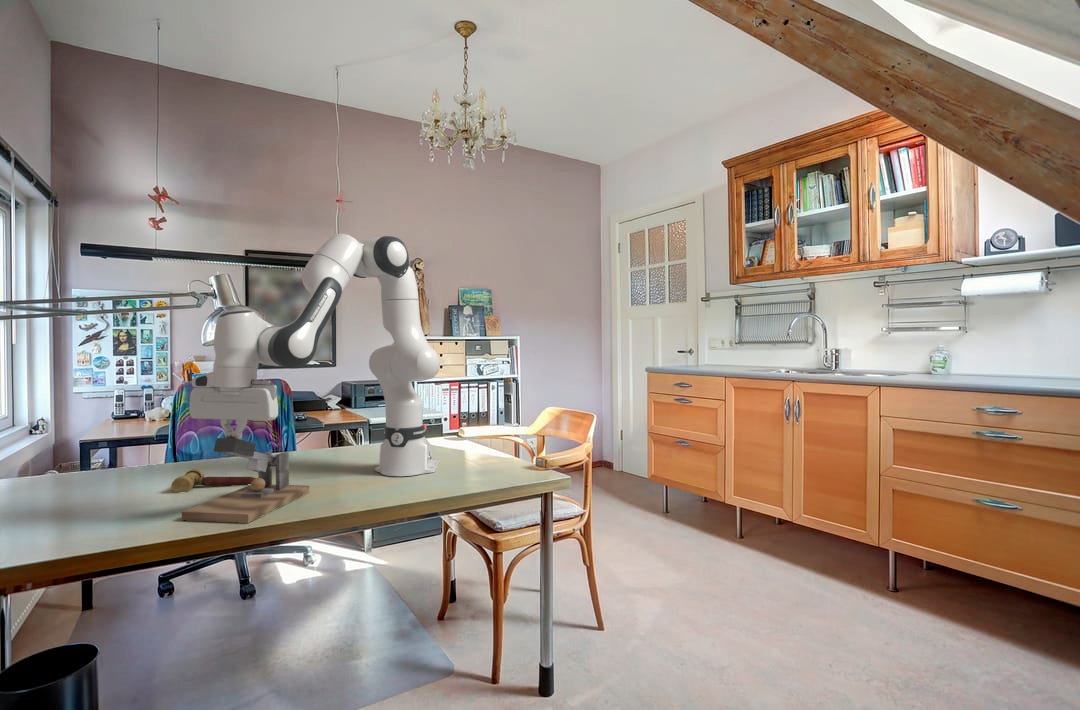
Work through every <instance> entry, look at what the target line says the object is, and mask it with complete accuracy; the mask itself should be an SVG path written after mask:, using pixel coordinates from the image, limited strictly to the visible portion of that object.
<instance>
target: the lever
mask: <svg viewBox="0 0 1080 710" xmlns="http://www.w3.org/2000/svg"><path fill="white" fill-rule="evenodd" d="M256 444H257V443H253V442H249V441H248V440H247V441H246V440H243V439H237V438H225V437H216V440H215V443H214V447H213V452H215V453H218V454H223V455H226V456H231V457H239V458H244V459H248V463H247V464H248V465H247V467H246V468H247V469H246V470H248V471H252V472H257V473H258V472H266V469H267V466H272V467H274V468H276V455H277V454H275V455H266V454H263V453H264V452H260V451H259V452H258V451H256Z"/></svg>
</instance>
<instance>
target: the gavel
mask: <svg viewBox="0 0 1080 710" xmlns="http://www.w3.org/2000/svg"><path fill="white" fill-rule="evenodd" d="M254 479H256V477H254V476H205V474H204V472H203V471H202V470H201V469H197V468H193V469H190V470H188V471H186V473H185V474H183V475H181V476H180V475H179V476H178V477H176V478H175V479H174V480H173V481H172V482H171V487H170V488H171V491H173V493H175V494H181V493H180V492H187V493H188V492H190V491H191V490H192V489H193V488H194V487H196V486H205V487H206V486H207V487H231V486H230V485H242V486H249V485H248V484H251V482H252V481H253V480H254Z"/></svg>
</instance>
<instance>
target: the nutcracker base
mask: <svg viewBox="0 0 1080 710" xmlns="http://www.w3.org/2000/svg"><path fill="white" fill-rule="evenodd" d="M262 453H263V454H266V455H272V454H273V453H272V451H266V452H262ZM275 455H276V467H275V484H273V466H267V469H266V472H257V473H258V474H257V475H258V477H257V478H256V477H255V478H256V479H254V480H253V481H252V482H251V485H246V486H244V487H242V488H239V489H236V490H234V491H231V492H229V493H226V494H224V495H221V496H219V497H216V498H213V499H211V500H208V501H206V502H202V503H201V504H198V505H195V506H193V507H190V508H188V509H185V510H182V511H181V521H182V520H186V521H185V522H201V521H214V522H213V523H225V522H238V523H237V524H250V523H252V522H254V521H256V520H257V519H256V518H258V517H260V516H262V515H264V516H266V515H267V514H266V513H268V512H270V511H272V512H274V511H275V510H274V509H276V508H278V507H281V506H283V505H285V504H287V503H289V502H291V501H293V500H295V499H297V498H299V497H301V496H303V495H305V496H307V495H308V493H309V494H310V485H303V484H302V485H299V484H290V474H289V473H290V465H289V463H290V462H289V461H290V459H289V457H290V453H289V451H283V452H281V453H277V454H275ZM306 494H307V495H306ZM303 497H304V496H303ZM301 498H302V497H301ZM299 499H300V498H299ZM297 500H298V499H297ZM295 501H296V500H295ZM293 502H294V501H293ZM291 503H292V502H291ZM289 504H290V503H289ZM287 505H288V504H287ZM285 506H286V505H285ZM283 507H284V506H283ZM281 508H282V507H281ZM278 509H279V508H278ZM273 510H274V511H273ZM276 510H277V509H276ZM270 513H271V512H270ZM265 514H266V515H265ZM268 514H269V513H268ZM262 517H263V516H262ZM260 518H261V517H260ZM255 519H256V520H255ZM258 519H259V518H258ZM253 520H254V521H253ZM215 521H216V522H215ZM251 521H252V522H251ZM249 522H250V523H249Z"/></svg>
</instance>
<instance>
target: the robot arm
mask: <svg viewBox="0 0 1080 710" xmlns="http://www.w3.org/2000/svg"><path fill="white" fill-rule="evenodd" d="M353 277H355V278H359V279H367V278H377V280H378V282H379V284H380V298H381V299H380V300H381V315H382V325H383V328H384V329H385V330H386V331H387V332H388V333H389V334H390V335H391V337H392V339H393V342H394V345H385V346H382V347H379V348H377V349H375V350H373V352H371V354H370V356H369V360H368V366H369V367H368V368H369V369H370V372H371V373H372V375H374V376H375V378H376V379H377V381H378V382H379V385H380V388H381V392H382V394H383V398H384V405H385V407H384V408H385V426H384V429H383V435H384V436H383V438H384V441H383V442H382V443H381V444H380V450H379V463H378V464H379V465H378V466H376V467H375V470H374V471H375V472H378V473H380V474H381V475H384V476H387V477H410V476H417V475H423V474H430V473H435V471H436V470H437V467H438V466H439V465H440V459H437V458H434V457H433V446H432V444H431V443H430V441H428V439H427V438H426V437H425V436H426V431H427V429H428V428H427V424H426V423H424V424H423V420H424V417H423V415H424V413H423V411H424V409H423V407H424V406H423V405H424V404H423V399H422V398H421V396H420V395H419V394H418V393H417V392H416V391H415V389H414V386H413V383H412V382H422V381H423V382H424V381H427V380H432V379H433V378H435V377H436V376H437V375H438V372H439V370H440V368H441V361H440V360H441V359H440V355H439V354H438V352H437V350H435V349H434V348H433V347H432V346H431V345H430V343H429V341H428V340H427V338H426V336H425V334H424V331H423V328H422V324H421V323H422V322H421V314H420V302H419V301H420V300H419V291H418V283H417V280H416V279H417V278H416V275H415V271H414V270H413V268H412V267H411V266H410V257H409V251H408V249H407V246H406V245H405V243H404V242H403V240H402V239H400V238H399V237H396V236H391V235H386V236H385V235H384V236H380V237H379V236H378V237H370V238H367V239H364V240H362V241H359V240H357V239H356V238H355V237H353V236H352V235H349V234H346V233H336V234H334V235H333V236H332V237H330V238H329V239H328V240H327V241H326V242H324V243H323V244H322V245H321V246H320V247H319V248H318V250H316V252H315V253H314V254H313V255H312V257H311V258H310V259H309V261H308V262H307V263H306V265H305V267H304V269H303V271H302V272H301V280H302V281H301V282H302V285H303V287H304V288H305V290H306V291H307V292H308V293H309V294H310V295H309V298H308V299H307V301H306V303H305V304H304V306H303V308H302V310H301V311H300V312H299V314H298V316H297V317H296V319H295V320H293V321H292V322H290V323H289V324H286V325H283V326H276V325H275V324H272V323H270V322H268V321H266V320H264V319H263V318H261V317H260V316H258V315H257V313H256V312H255V311H253V310H247V309H246V310H236V311H235V310H234V311H226V312H223V313H222V314H220V315H219V316H218V317H217V319H216V324H215V329H214V336H213V337H214V339H213V350H214V353H215V358H214V362H213V365H212V366H213V368H212V369H213V370H212V371H210V372H207V373H205V374H201V375H198V376H194V377H193V378H191V386H192V387H194V388H193V389H192V390H191V392H190V395H189V406H188V408H189V409H188V412H189V413H188V414H189V415H190V416H191V419H201V420H203V419H204V420H205V419H206V420H220V426H221V428H222V430H223V431H224V438H237V439H240V440H242V438H243V431H244V430H245V428H246V426H247V425H248V421H256V422H257V421H260V422H265V421H267V422H269V421H275V420H276V419H277V418H278V416H279V405H278V387H277V385H276V384H275V383H274V382H272V380H266V379H265V380H260V379H257V377H258V375H257V374H258V373H257V372H258V364H262V365H265V366H271V367H272V366H273V367H282V368H283V367H284V368H287V369H299V368H303V367H305V366H306V365H308V364H309V363H310V362H311V361H312V360H313V359H314V356H315V354H316V352H317V348H318V347H317V346H318V343H319V342H318V341H319V340H320V336H321V334H322V332H323V330H324V329H325V326H326V325H327V323H328V321H329V320H330V318H331V316H332V314H333V312H334V310H335V309H336V307H337V305H338V303H339V302H340V299H341V297H342V293H343V291H344V290H345V288H346V286H348V284H349V282H350V281H351V279H352V278H353ZM233 421H235V426H236V425H237V426H236V428H235V430H233V427H232V425H231V424H232V423H233Z"/></svg>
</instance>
